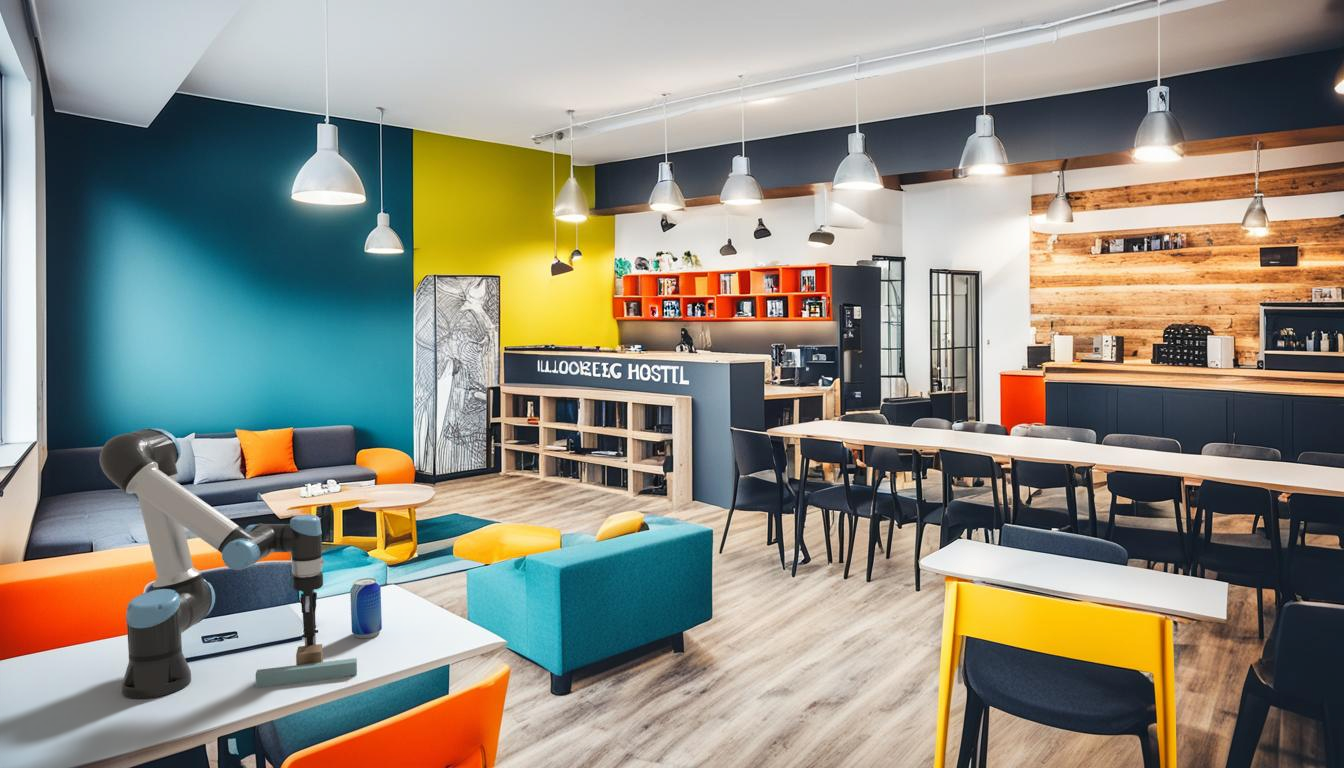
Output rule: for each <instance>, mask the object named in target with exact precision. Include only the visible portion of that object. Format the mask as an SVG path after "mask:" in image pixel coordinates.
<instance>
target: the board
mask: <svg viewBox="0 0 1344 768" xmlns="http://www.w3.org/2000/svg"><path fill="white" fill-rule="evenodd" d="M357 661H358V658H357V657H355V658H353V657H352V658H345V659H338V660H328V661H323V662H319V663H311V664H302V665H286V666H279V667H277V666H276V667H269V668H268V667H267V668H261V669H260V668H259V669H256V672H255V688H265V687H273V686H274V687H275V686H280V685H289V684H297V683H305V682H313V681H321V680H322V679H323V680H328V679H327V678H331V679H336V678H335V677H339V678H344V677H343V676H347V677H352V676H351V675H355V676H357V675H358V666H357V665H358V662H357Z"/></svg>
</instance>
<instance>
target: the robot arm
mask: <svg viewBox="0 0 1344 768" xmlns="http://www.w3.org/2000/svg"><path fill="white" fill-rule="evenodd" d="M181 449H182V448H181V446H180V443H179V441H178V439H177V438H176V437H175V435H173V434H172V433H170V432H169V431H168V430H165V429H162V428H144V429H139V430H137V431H132V432H129V433H121V434H118V435H115V436H113V437H111V438H110V439H108V441H106V442H105V444H104V445H103V446H102V448H101V450H100V452H99V460H98V461H99V465H100V468H101V471H102V472H103V473H104V475H105V476H106V477H107V478H108V479H109V480H110V481H111V482H112V483H113V484H114V485H115V486H117V487H118V488H120V489H121V490H122V491H124V492H125V493H127V494H131V495H132V494H136V495H137V499H138V501H139V502H138V503H139V506H140V510H141V514H142V519H143V522H144V526H145V531H146V535H147V539H148V540H147V541H148V544H149V547H150V552H151V556H152V560H153V564H154V568H155V573H156V579H155V581H154V582H153V583H152V590H149V591H148V592H144V593H140V594H138V595H137V596H135V597H133V598H132V599H131V600H130V601H129V602H128V604H127V606H126V615H125V621H126V631H127V649H128V663H127V667H126V671H125V673H124V677H123V679H122V683H121V689H122V690H121V693H122V695H123V696H124V697H126V698H130V699H151V698H157V697H162V696H166V695H169V694H172V693H176V692H177V691H180V690H182V689H185V687H187V686H188V685H189V684H190V683H191V682H192V673H191V669H190V667H189V665H188V663H187V660H186V658H185V656H184V653H183V649H182V648H183V647H182V646H183V645H182V644H183V643H182V633H184V632H185V631H187V630H188V629H190V628H191V627H193V626H194V625H197V624H199V623H200V622H202V621H203V620H204V619H205V618H206V617H207V616H208V615H209V614H210V613H211V611H212V610H213V608H214V605H215V603H216V593H215V589H214V588H213V585H212V584H211V583H210V582H208V581H207V580H206V579H205V578H203V574H202V571H201V570H199V569H197V568H195V567H194V564H193V561H192V556H191V552H190V547H189V543H188V539H187V535H186V531H185V529H186V530H188V531H189V532H191V533H192V534H194V535H195V536H196V537H198V538H200V539H201V540H203V542H205V543H207V544H208V545H210V546H211V547H212V548H214V549H215V550H217V551H218V552H219V553H221V558H222V561H223V563H224V565H225V566H226V567H227V568H229V569H231V570H234V571H242V570H245V569H246V568H249V567H252V566H254V565H255V564H256V563H257V562H259V561H261V560H262V559H263V558H266V557H267V556H269V555H270V554H274V553H291V573H292V589H293V590H295V591H297V592H302V593H301V594H300V598H299V600H300V601H299V602H300V604H301V606H300V607H301V613H302V622H303V634H301V638H302V639H304V646H308V645H317V635H316V634H318V633H319V629H316V628H317V625H316V610H317V599H318V593H317V592H315V590H319V589H321V588H322V587H323V586H324V574H323V572H322V571H323V564H324V563H325V562H326V561H325V559H323V552H322V551H323V549H322V548H323V547H322V545H323V544H322V534H323V533H322V532H323V531H322V525H321V519H320V517H319V516H318V515H315V514H302V515H295V516H293V517H291V518H290V521H289V523H257V524H250V525H248V526H247V527H245V529H244V528H242V527H241V526H239V525H238V524H236V523H235V522H234V521H233V520H231V519H229V518H228V517H226V515H224V514H222V513H221V512H220V511H218V510H217V509H215V508H214V507H212V506H211V505H210V504H208V503H207V502H205V501H204V500H203V499H201V498H200V497H199V496H197V495H196V494H194V493H193V492H191V491H190V490H188V489H187V488H186V487H184V485H181V484H180V483H178V482H177V481H176V480H175V479H176V478H177V477H178V475H179V473H178V468H177V463H178V462H179V459H180V457H181V451H182V450H181Z"/></svg>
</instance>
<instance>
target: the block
mask: <svg viewBox="0 0 1344 768" xmlns="http://www.w3.org/2000/svg"><path fill="white" fill-rule="evenodd" d="M323 651H324V650H323V643H319V644H317V643H316V645H308V646H305V645H301V646H297V650H296V653H295V662H296V663H295V664H296V665H302V664H311V663H319V662H324V657H323Z"/></svg>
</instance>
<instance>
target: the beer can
mask: <svg viewBox="0 0 1344 768" xmlns="http://www.w3.org/2000/svg"><path fill="white" fill-rule="evenodd" d="M381 590H382V589H381V585H380V584H379V582H378V580H377V578H374V577H363V578H359V579H356V580H354V581H353V584H352V587H351V588H350V615H351V617H350V618H351V622H350V623H351V633H352V634H353V635H354V637H355V638H357V639H370V638H374V637H376V636H378V635H379V634H380V632H381V630H382V629H383V624H382V620H383V619H382V596H381V595H382V594H381V592H382V591H381Z"/></svg>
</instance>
